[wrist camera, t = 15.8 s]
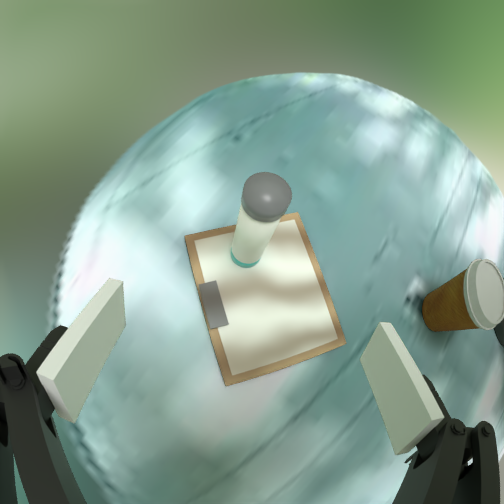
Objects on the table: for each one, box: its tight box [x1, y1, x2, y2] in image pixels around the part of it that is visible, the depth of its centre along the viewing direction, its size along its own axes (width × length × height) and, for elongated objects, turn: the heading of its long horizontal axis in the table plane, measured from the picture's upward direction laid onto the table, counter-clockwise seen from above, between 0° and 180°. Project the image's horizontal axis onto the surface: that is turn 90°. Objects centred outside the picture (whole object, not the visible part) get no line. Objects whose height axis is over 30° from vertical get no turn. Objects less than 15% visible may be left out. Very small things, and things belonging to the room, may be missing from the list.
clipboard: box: [185, 212, 347, 386], centre depth 32 cm, size 18×15×2 cm
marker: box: [230, 172, 292, 268], centre depth 27 cm, size 4×4×13 cm
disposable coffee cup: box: [422, 259, 504, 332], centre depth 30 cm, size 10×10×12 cm
